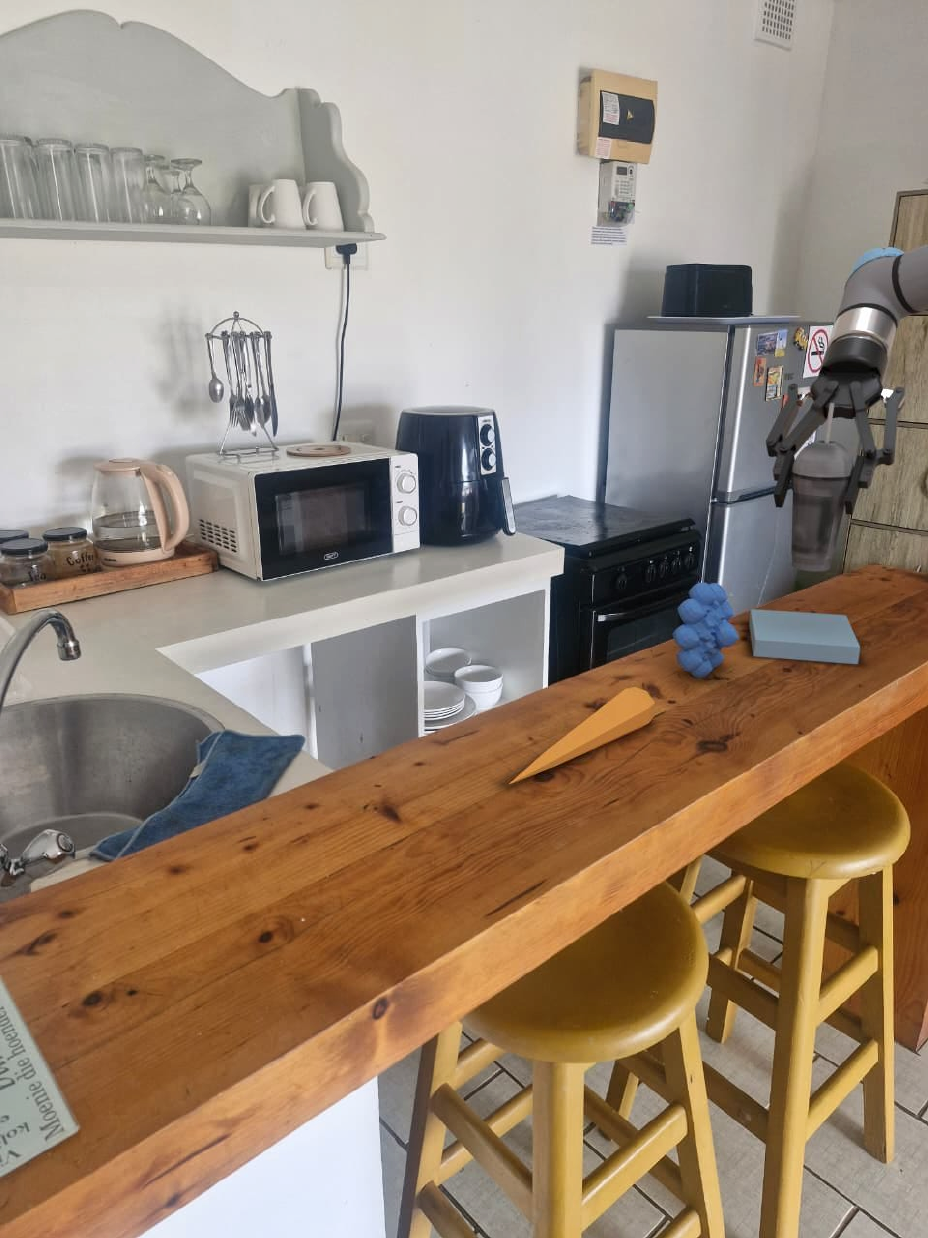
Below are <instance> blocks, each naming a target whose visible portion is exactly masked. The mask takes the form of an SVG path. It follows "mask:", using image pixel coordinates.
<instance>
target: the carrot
mask: <svg viewBox="0 0 928 1238" xmlns="http://www.w3.org/2000/svg"><path fill="white" fill-rule="evenodd" d="M655 716H656V702H655V701H654V699H653V698H652V697H651V695H650V694H649V692H648V691H647V690H646V689H645V690H644V689H643V688H639V687H637V686H632V687H628V688H625V689H623V690H622V691H621V692H619V693H618V694H616V695H615V696H614V697H613V698H612V699H610V700H609V701H608V702H607V703H605V704H604V705H603V706H601V707H600V708H599V709H597V710H596V711H595V712H594V713H592V714H591V715H590V716H589V717H587V718H586V719H585V720H583V722H581V723H580V724H579V725H577V726H576V727H575V728H574V729H572V730H571V731H570V732H568V733H567V734H566V735H564V736H563V737H562V738H561V739H559V741H557V742H555V743H554V744H553V745H552V746H551V747H549V748H548V749H546V750H545V751H544V752H542V754H540V755H539V757H537V758H536V759H535V760H534V761H533V762H532V763H530V764H529V765H528V766H527V767H526V768H525V769H524V770H523V771H522V772H520V773H519V774H518V775H517V776H516V777H515V778H514V779H513V780H512V781H510V782H509V785H510V784H513V783H517V782H519V781H521V780H525V779H527V778H529V777H532V776H534V775H537V774H540V773H542V772H545V771H547V770H550V769H552V768H555V767H557V766H559V765H562V764H564V763H566V762H569V761H571V760H573V759H575V758H577V757H580V756H582V755H584V754H586V753H589V752H591V751H593V750H595V749H598V748H600V747H602V746H604V745H606V744H609V743H611V742H613V741H615V740H617V739H620V738H623V737H624V736H626V735H629V734H631V733H634V732H636V731H638V730H640V729H642V728H644V727H645V726H647V725H648V724H649V723H651V721H652V720H653V719H654V718H655Z"/></svg>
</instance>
